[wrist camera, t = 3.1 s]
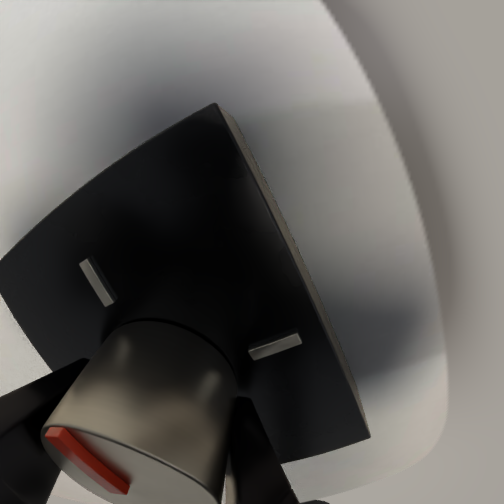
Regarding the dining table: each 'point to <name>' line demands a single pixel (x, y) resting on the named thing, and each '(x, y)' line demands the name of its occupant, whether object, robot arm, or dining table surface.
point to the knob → (147, 418)
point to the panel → (191, 279)
